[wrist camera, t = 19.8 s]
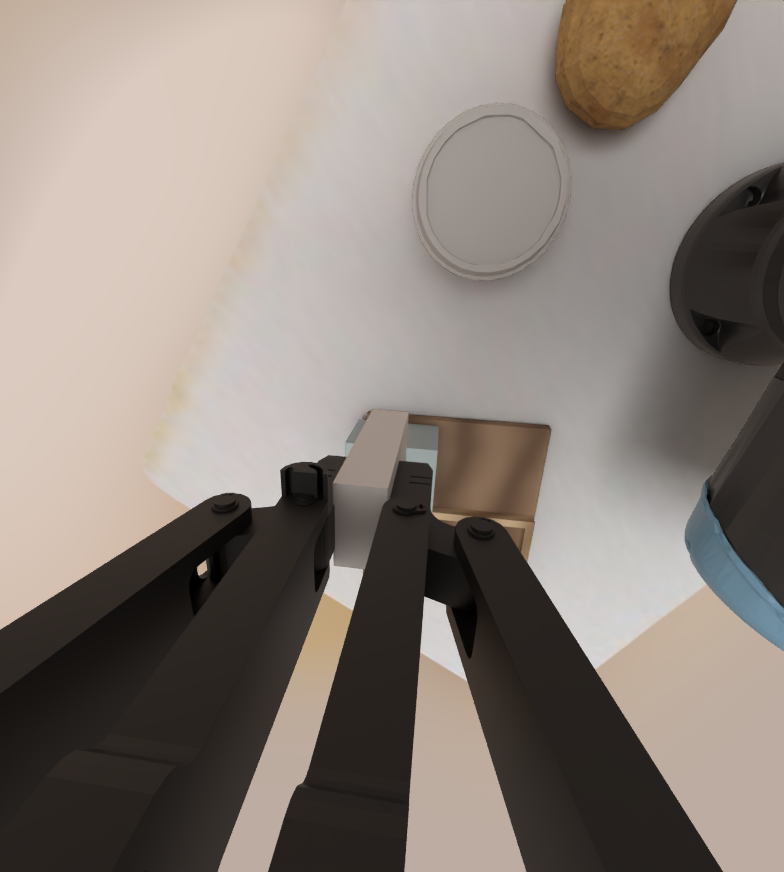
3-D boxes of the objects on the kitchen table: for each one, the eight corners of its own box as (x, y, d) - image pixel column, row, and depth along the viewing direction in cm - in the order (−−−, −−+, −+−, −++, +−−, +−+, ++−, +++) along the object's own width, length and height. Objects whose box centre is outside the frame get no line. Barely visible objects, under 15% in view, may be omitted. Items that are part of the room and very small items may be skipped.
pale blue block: (438, 425, 42) (437, 450, 36) (432, 496, 44) (430, 530, 39) (359, 419, 42) (345, 442, 37) (358, 489, 45) (345, 521, 40)
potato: (750, -63, 28) (859, -182, 21) (628, 169, 33) (680, 140, 26) (616, -124, 28) (678, -268, 20) (515, 120, 33) (535, 76, 26)
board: (548, 425, 42) (559, 441, 38) (517, 589, 49) (523, 616, 45) (368, 411, 43) (360, 425, 39) (364, 571, 51) (358, 596, 47)
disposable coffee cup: (549, 250, 36) (595, 241, 25) (443, 294, 38) (442, 304, 27) (516, 129, 33) (551, 57, 22) (404, 185, 36) (385, 145, 24)
